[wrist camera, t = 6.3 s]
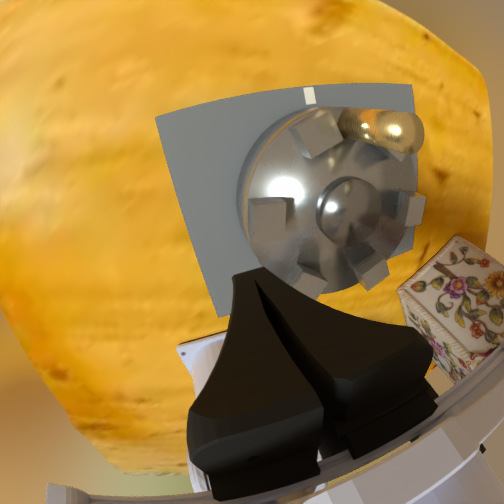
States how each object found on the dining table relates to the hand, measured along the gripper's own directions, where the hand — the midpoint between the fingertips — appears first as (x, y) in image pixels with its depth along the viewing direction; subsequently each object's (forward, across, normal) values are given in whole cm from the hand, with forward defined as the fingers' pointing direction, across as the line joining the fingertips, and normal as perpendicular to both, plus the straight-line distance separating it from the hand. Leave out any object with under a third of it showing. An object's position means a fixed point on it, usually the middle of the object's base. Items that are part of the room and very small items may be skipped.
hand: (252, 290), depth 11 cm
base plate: (+10, -8, 0) cm, 13 cm away
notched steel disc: (+9, -8, 0) cm, 11 cm away
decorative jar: (+11, -25, +17) cm, 32 cm away
